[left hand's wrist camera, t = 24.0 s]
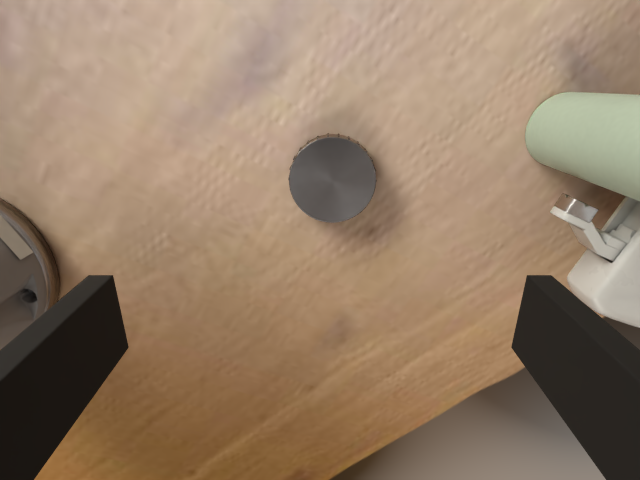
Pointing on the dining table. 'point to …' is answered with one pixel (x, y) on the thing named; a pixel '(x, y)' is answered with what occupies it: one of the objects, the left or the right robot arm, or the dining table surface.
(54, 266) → the left robot arm
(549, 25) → the dining table surface
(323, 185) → the lid
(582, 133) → the jar
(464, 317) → the dining table surface
